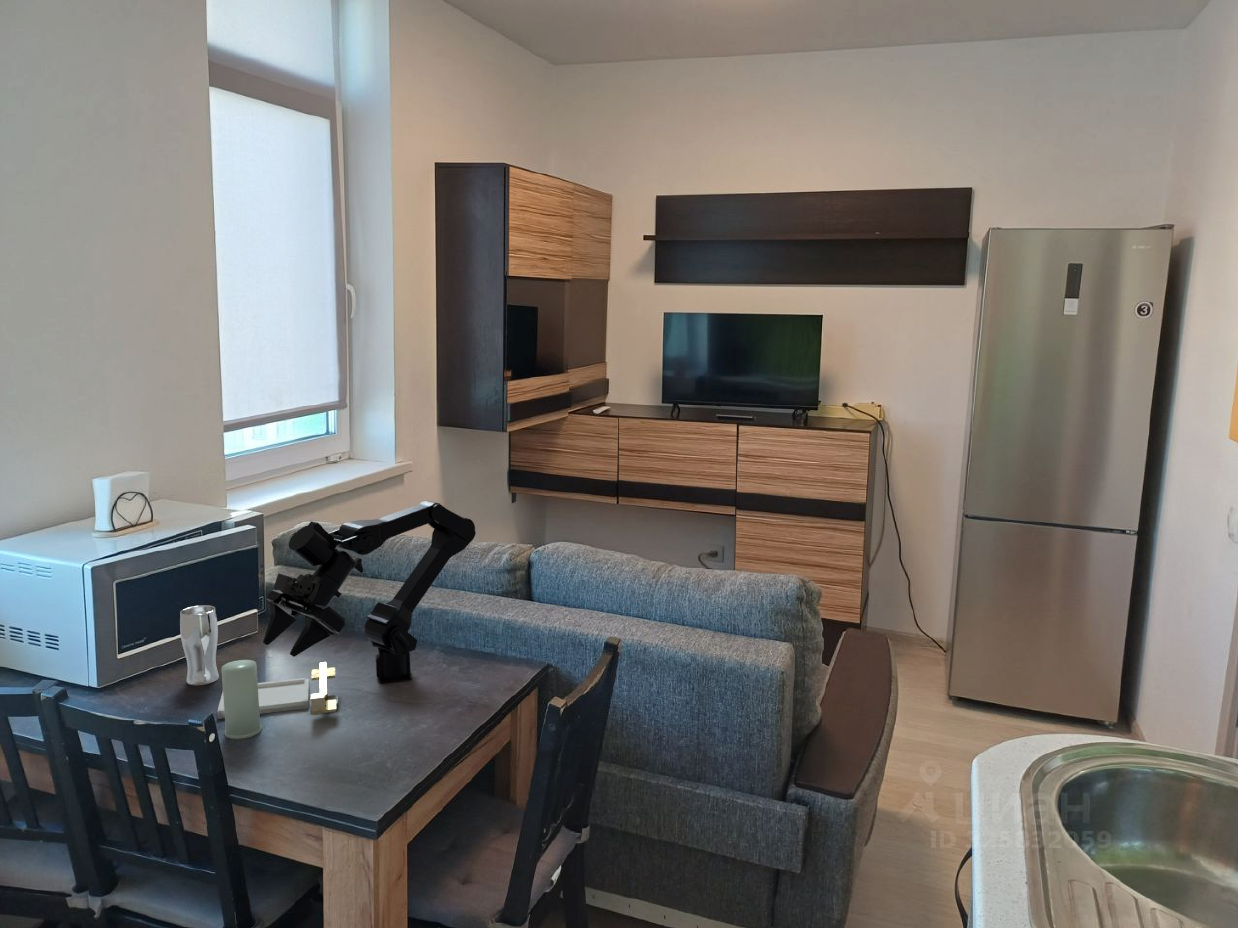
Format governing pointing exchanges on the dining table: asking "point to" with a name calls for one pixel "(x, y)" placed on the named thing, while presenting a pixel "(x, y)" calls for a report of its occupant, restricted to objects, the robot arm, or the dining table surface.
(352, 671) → the dining table surface
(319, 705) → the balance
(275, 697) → the dish
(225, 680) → the cup
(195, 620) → the beer glass
